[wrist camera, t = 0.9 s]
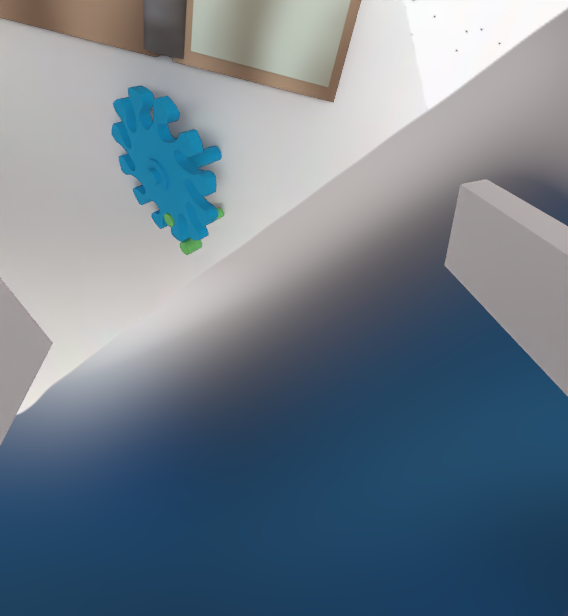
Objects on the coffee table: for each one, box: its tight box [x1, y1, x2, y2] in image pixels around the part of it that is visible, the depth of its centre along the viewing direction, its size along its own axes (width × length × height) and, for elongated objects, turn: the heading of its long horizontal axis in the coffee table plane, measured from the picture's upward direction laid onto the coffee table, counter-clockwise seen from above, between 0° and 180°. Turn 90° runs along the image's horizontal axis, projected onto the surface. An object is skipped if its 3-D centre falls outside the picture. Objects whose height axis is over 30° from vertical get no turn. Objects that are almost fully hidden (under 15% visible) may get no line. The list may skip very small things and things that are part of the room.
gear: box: [112, 86, 224, 255], centre depth 25 cm, size 11×6×10 cm
